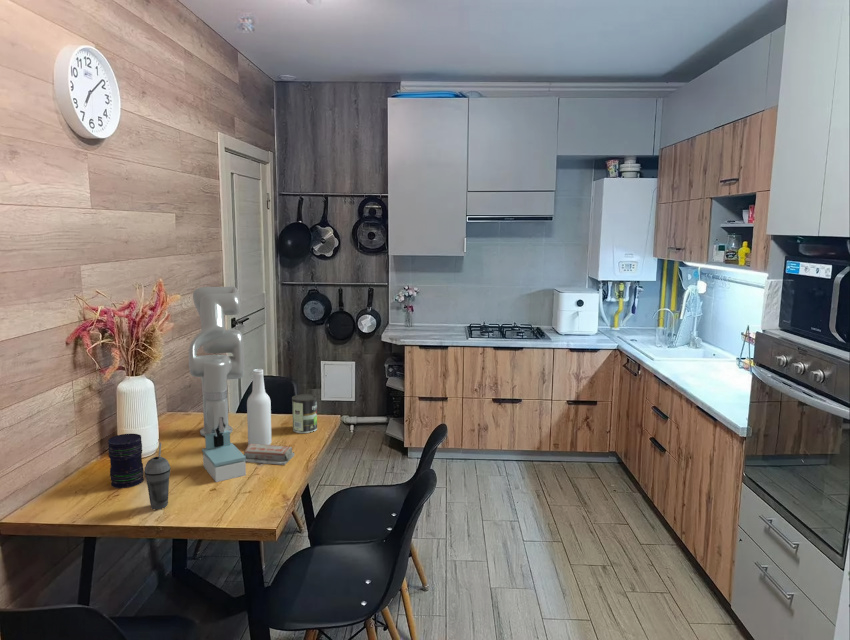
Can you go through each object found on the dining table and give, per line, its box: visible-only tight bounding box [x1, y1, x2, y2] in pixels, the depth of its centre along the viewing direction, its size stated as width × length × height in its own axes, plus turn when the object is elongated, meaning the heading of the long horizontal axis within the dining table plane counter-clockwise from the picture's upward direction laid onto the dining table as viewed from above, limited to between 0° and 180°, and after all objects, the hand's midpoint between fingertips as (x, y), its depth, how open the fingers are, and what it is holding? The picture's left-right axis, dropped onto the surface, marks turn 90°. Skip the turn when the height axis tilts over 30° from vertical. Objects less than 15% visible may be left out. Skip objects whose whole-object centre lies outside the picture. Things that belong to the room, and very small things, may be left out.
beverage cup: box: [143, 442, 172, 511], centre depth 174 cm, size 7×7×20 cm
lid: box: [201, 430, 246, 467], centre depth 200 cm, size 15×10×6 cm
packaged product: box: [243, 444, 296, 466], centre depth 213 cm, size 18×5×10 cm
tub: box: [202, 452, 247, 483], centre depth 201 cm, size 15×10×5 cm, turn 36°
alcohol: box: [246, 368, 272, 445], centre depth 224 cm, size 9×9×30 cm
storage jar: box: [107, 433, 145, 489], centre depth 190 cm, size 10×10×15 cm
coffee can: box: [291, 393, 318, 434], centre depth 244 cm, size 10×10×14 cm
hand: (217, 444), depth 206 cm, fingers closed on lid
